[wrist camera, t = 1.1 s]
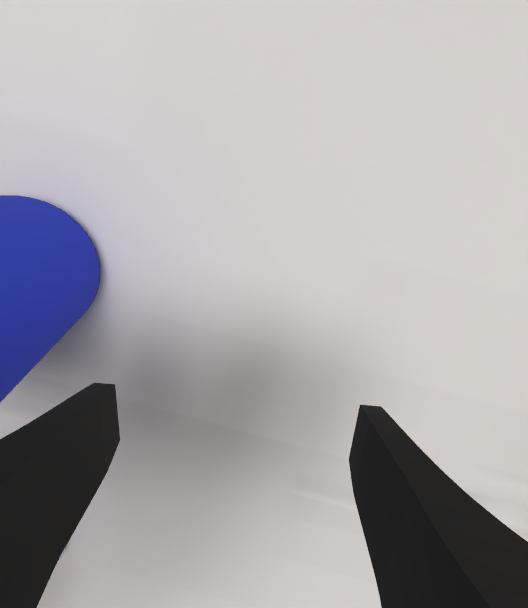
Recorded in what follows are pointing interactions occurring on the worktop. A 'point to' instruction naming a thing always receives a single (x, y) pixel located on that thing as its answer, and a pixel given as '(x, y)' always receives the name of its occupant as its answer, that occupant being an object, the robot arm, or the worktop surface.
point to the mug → (40, 282)
